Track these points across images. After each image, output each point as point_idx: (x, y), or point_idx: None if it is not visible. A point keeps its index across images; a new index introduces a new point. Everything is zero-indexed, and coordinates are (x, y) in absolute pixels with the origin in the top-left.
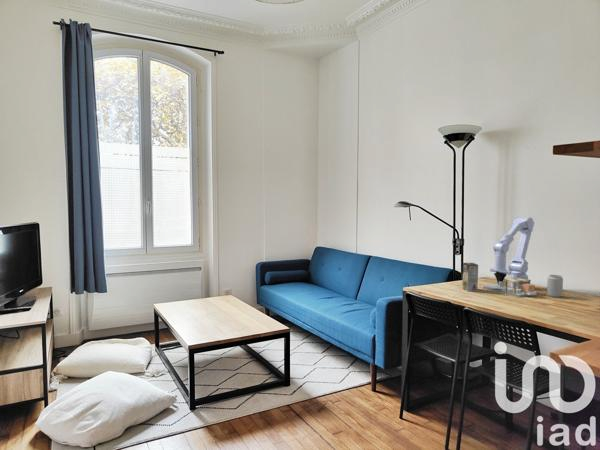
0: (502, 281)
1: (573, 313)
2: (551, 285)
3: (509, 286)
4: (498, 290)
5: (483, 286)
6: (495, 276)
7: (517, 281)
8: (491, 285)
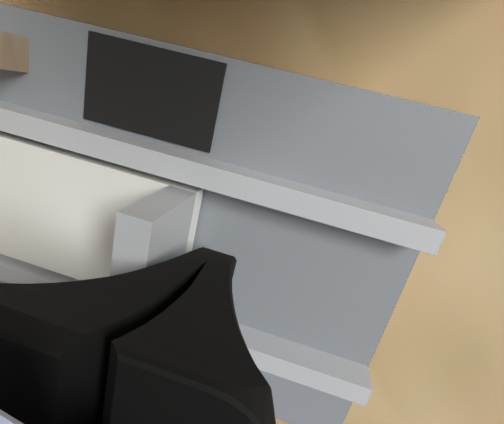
0: None
1: None
2: None
3: None
4: (114, 30)
5: (466, 122)
6: (239, 338)
7: None
8: (332, 198)
